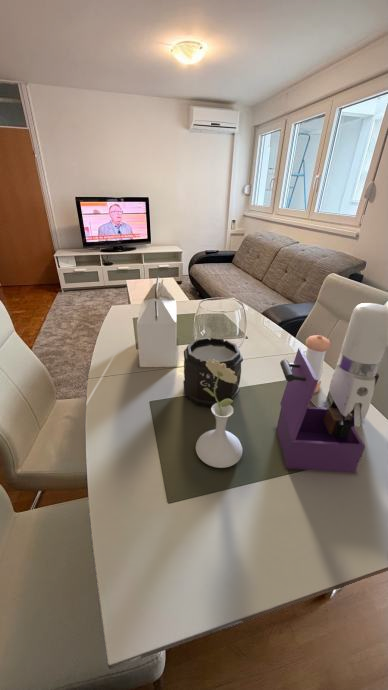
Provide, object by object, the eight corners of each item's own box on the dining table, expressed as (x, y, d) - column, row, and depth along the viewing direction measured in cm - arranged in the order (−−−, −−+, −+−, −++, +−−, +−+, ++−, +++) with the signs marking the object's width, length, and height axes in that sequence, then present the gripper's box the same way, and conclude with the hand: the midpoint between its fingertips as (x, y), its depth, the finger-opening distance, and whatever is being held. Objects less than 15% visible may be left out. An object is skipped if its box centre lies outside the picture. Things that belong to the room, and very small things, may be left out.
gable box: (176, 367, 107) (176, 292, 94) (139, 368, 106) (133, 292, 93) (176, 339, 127) (175, 273, 113) (145, 339, 126) (140, 273, 112)
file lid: (301, 348, 68) (280, 345, 68) (318, 380, 57) (292, 376, 57) (283, 403, 76) (264, 401, 76) (295, 441, 65) (272, 438, 65)
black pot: (222, 371, 106) (225, 331, 98) (249, 401, 91) (255, 357, 84) (174, 381, 99) (173, 340, 92) (194, 416, 85) (196, 369, 77)
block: (323, 421, 73) (327, 407, 71) (341, 422, 73) (346, 408, 71) (329, 434, 69) (334, 420, 67) (348, 435, 69) (354, 421, 67)
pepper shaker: (293, 389, 97) (305, 337, 88) (297, 378, 103) (309, 328, 94) (317, 396, 94) (331, 343, 85) (320, 384, 100) (334, 333, 91)
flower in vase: (251, 460, 72) (265, 373, 60) (211, 480, 67) (218, 390, 55) (220, 426, 82) (227, 346, 70) (184, 441, 77) (184, 357, 65)
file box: (334, 433, 80) (343, 408, 76) (354, 473, 69) (365, 446, 65) (276, 430, 81) (281, 405, 77) (286, 469, 70) (292, 442, 65)
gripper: (398, 388, 55) (367, 457, 63) (359, 344, 69) (338, 405, 78) (356, 385, 55) (332, 455, 64) (326, 342, 70) (309, 403, 78)
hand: (336, 427), depth 71 cm, fingers closed on block, 4 cm apart
